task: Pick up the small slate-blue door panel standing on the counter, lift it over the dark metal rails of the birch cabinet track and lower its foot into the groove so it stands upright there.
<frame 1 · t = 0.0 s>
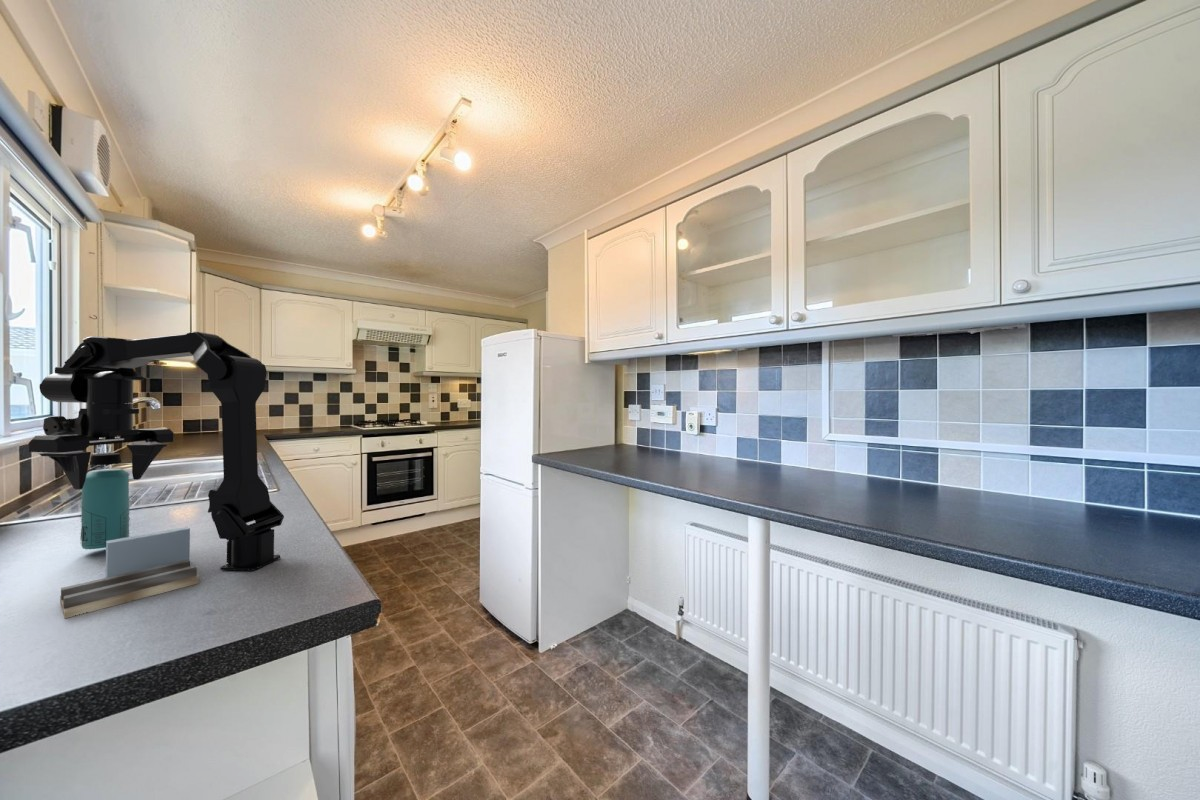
hand: (109, 484, 79), 15 cm above the countertop, tool pointing down, fingers open, 9 cm apart
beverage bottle: (105, 552, 83), on the countertop
door track: (133, 592, 67), on the countertop
door panel: (149, 573, 74), on the countertop
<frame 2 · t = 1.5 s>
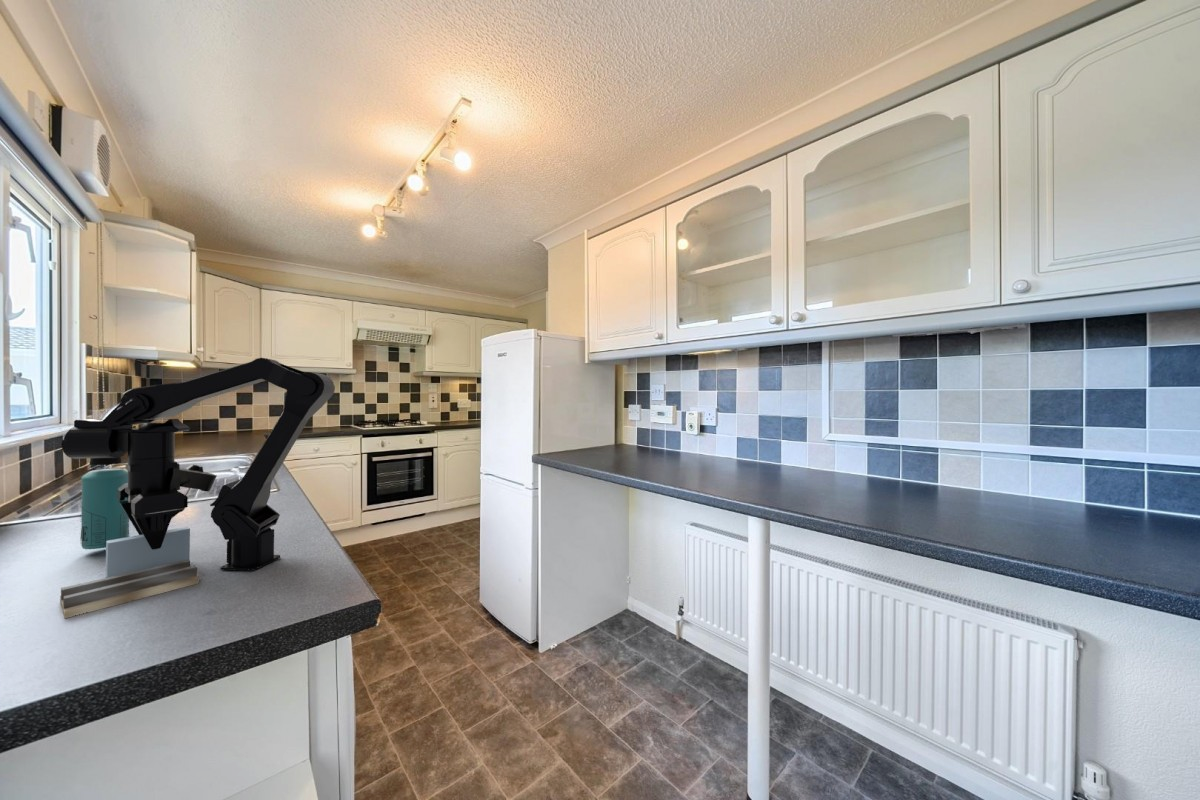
hand: (150, 543, 74), 5 cm above the countertop, tool pointing down, fingers open, 9 cm apart
nothing on the countertop moved.
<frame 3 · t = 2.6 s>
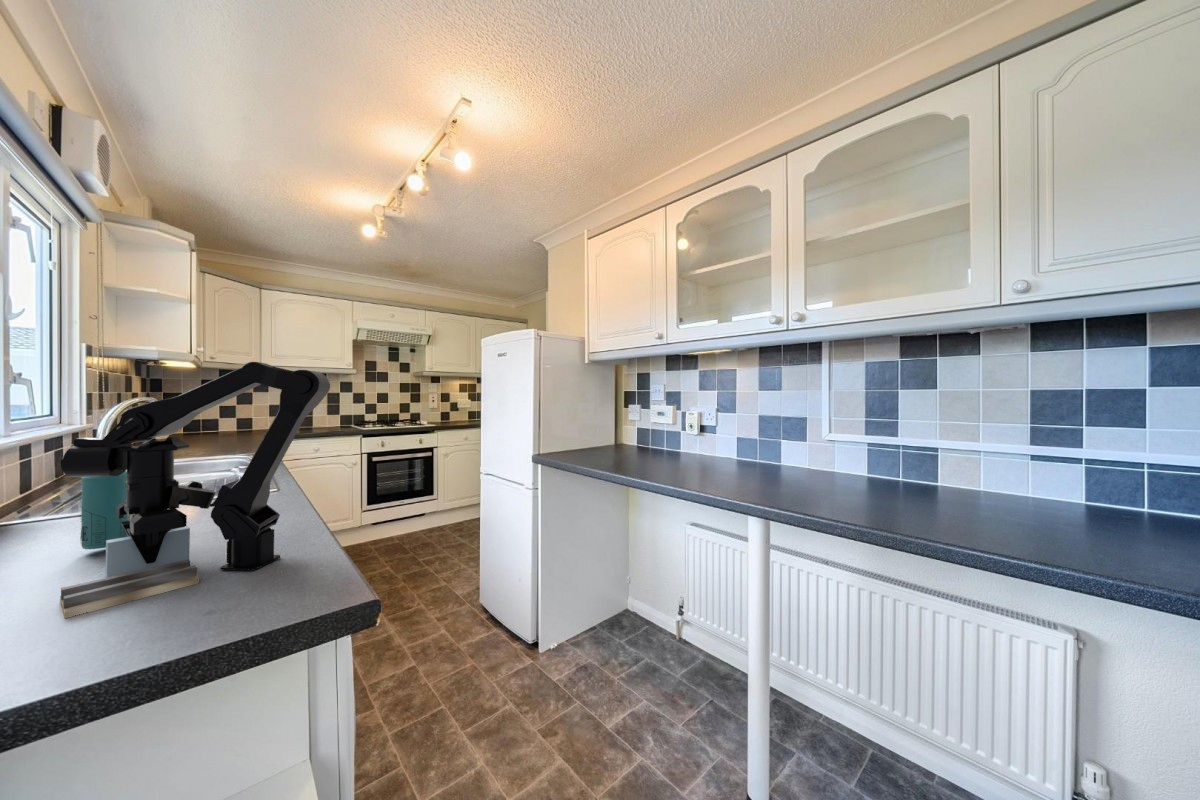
hand: (149, 561, 74), 2 cm above the countertop, tool pointing down, fingers closed on door panel, 2 cm apart
door panel: (149, 572, 74), on the countertop, touching gripper
everything else where it was.
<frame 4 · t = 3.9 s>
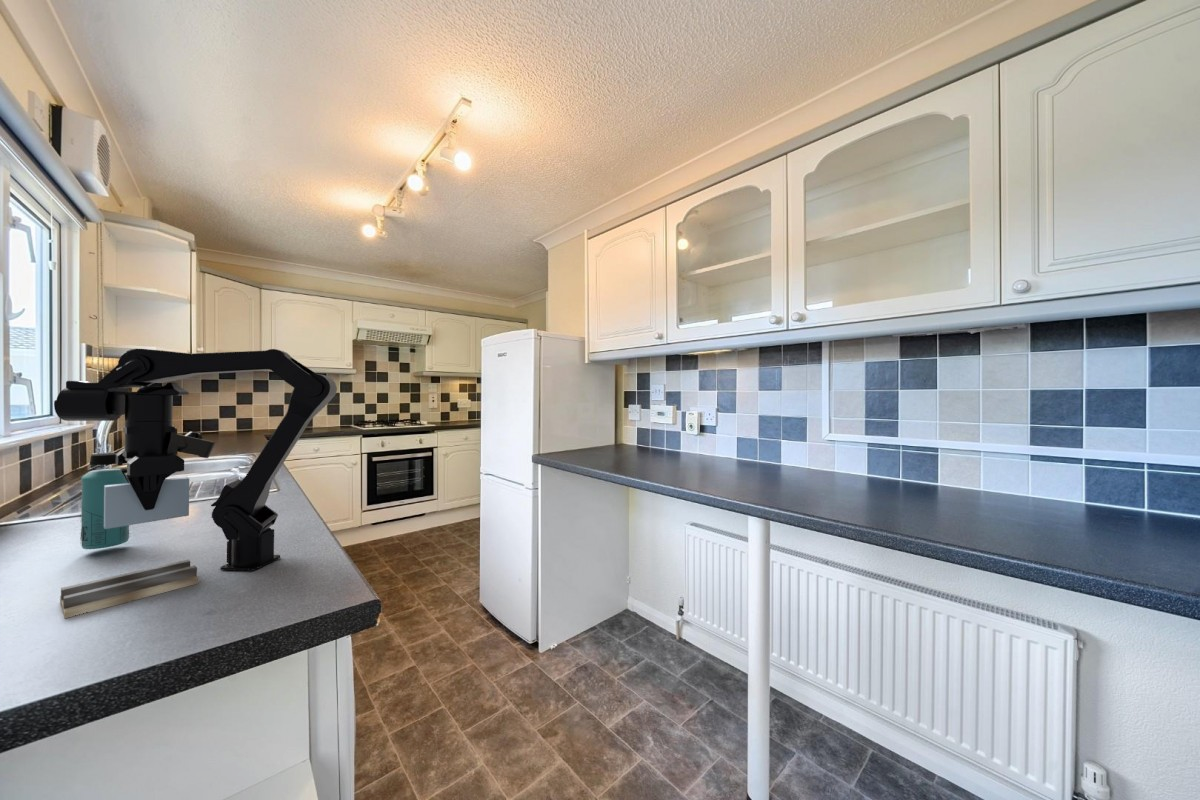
hand: (148, 508, 73), 12 cm above the countertop, tool pointing down, fingers closed on door panel
door panel: (148, 520, 73), point 10 cm above the countertop, touching gripper
everything else where it was.
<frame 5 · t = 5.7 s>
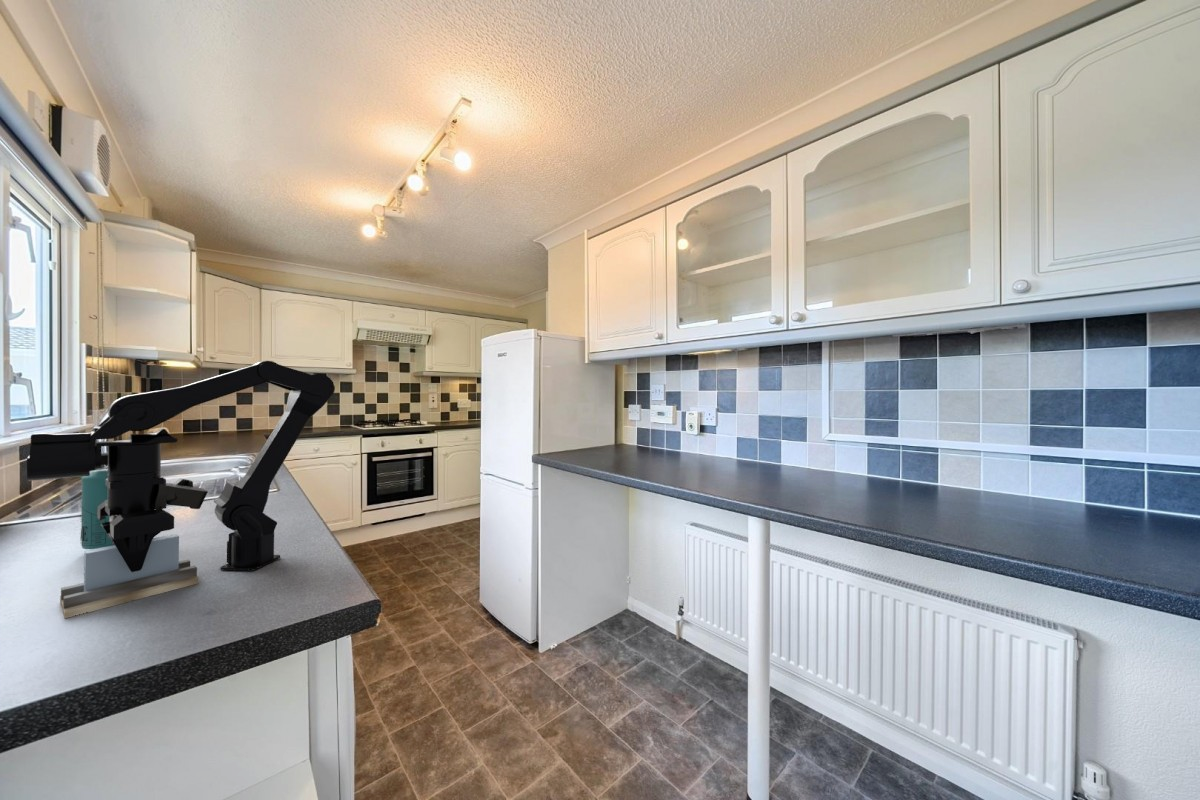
hand: (133, 567, 67), 4 cm above the countertop, tool pointing down, fingers open, 4 cm apart
door panel: (133, 585, 67), point 1 cm above the countertop, touching door track
everything else where it was.
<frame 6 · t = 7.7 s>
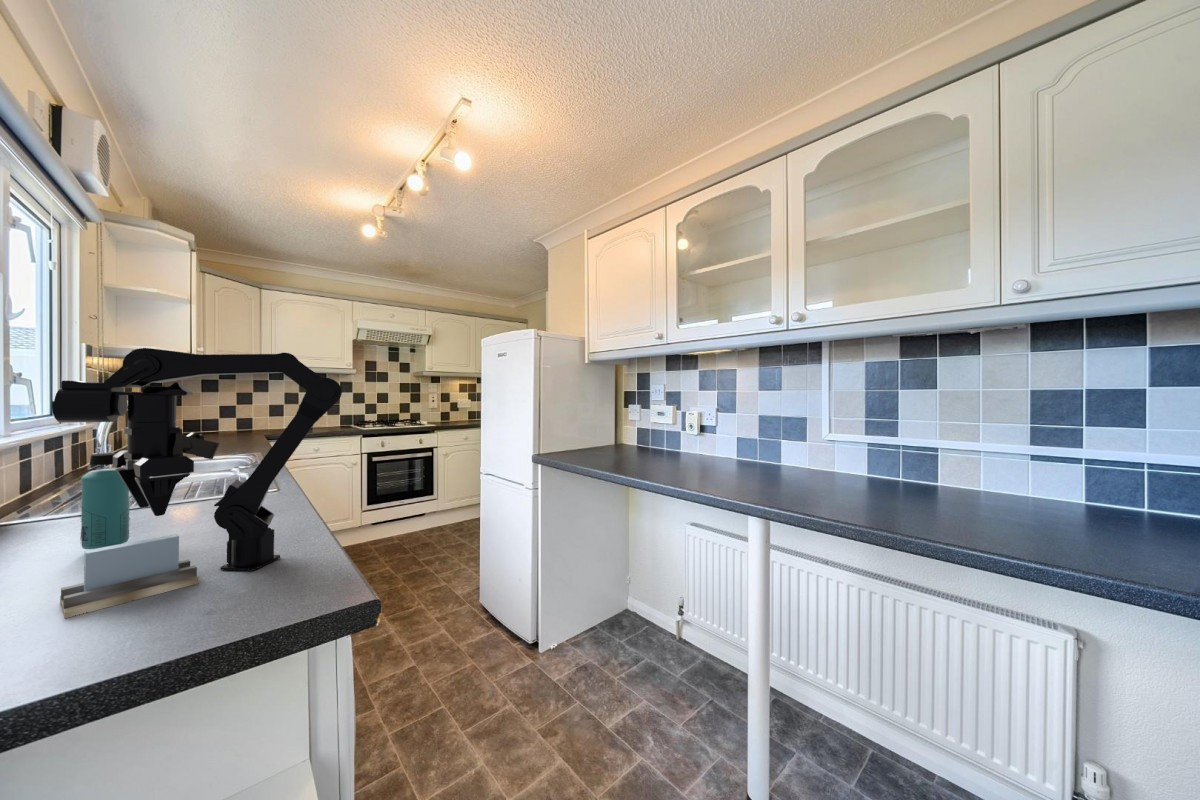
hand: (151, 511, 71), 12 cm above the countertop, tool pointing down, fingers open, 9 cm apart
nothing on the countertop moved.
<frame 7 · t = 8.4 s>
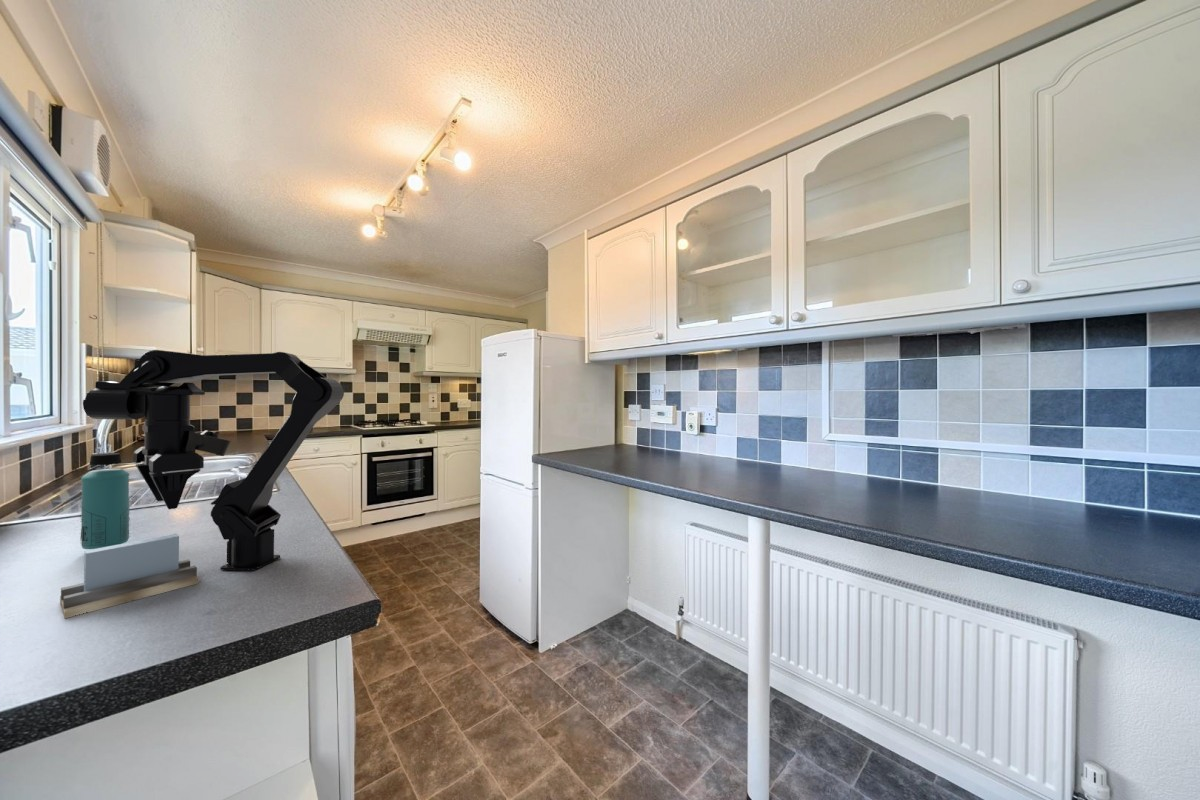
hand: (166, 504, 75), 12 cm above the countertop, tool pointing down, fingers open, 9 cm apart
nothing on the countertop moved.
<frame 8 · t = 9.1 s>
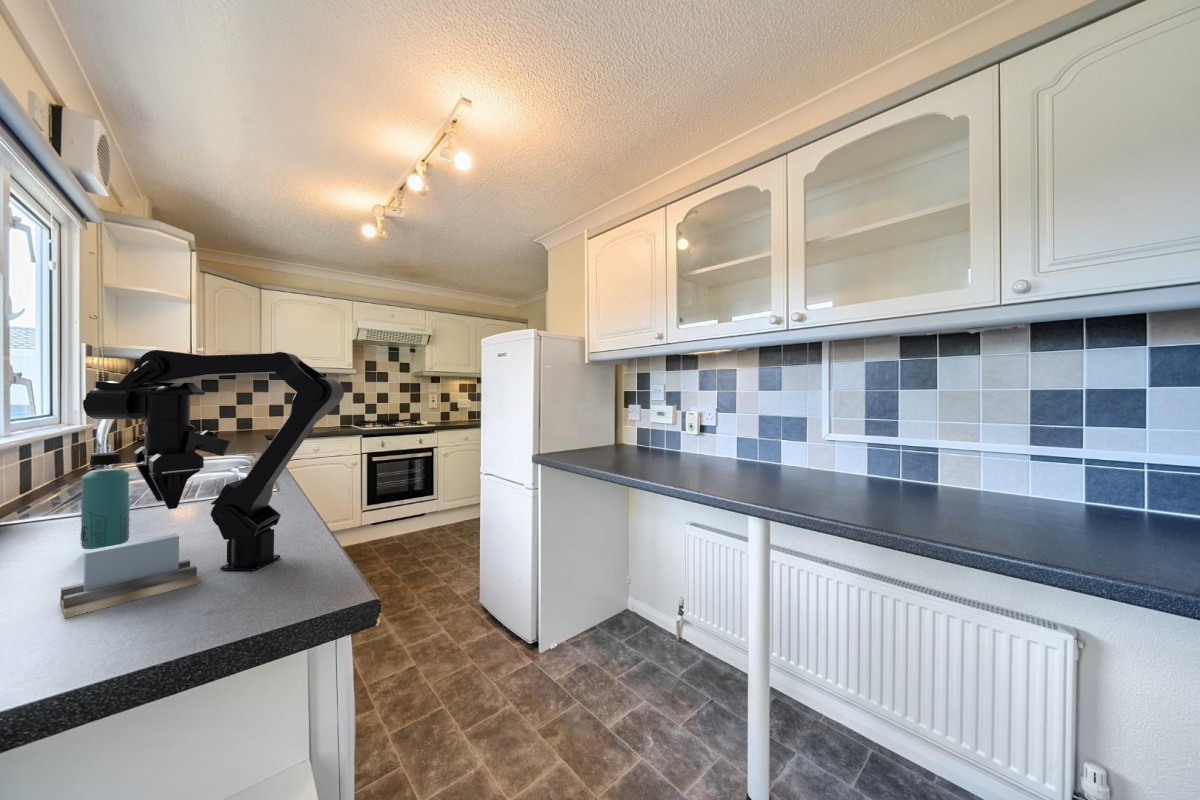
hand: (166, 504, 75), 12 cm above the countertop, tool pointing down, fingers open, 9 cm apart
nothing on the countertop moved.
at the end: door panel 0.0 cm off-centre on the door track, point 1.0 cm above the door track's base; door panel tilted 0°; the gripper is holding nothing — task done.
